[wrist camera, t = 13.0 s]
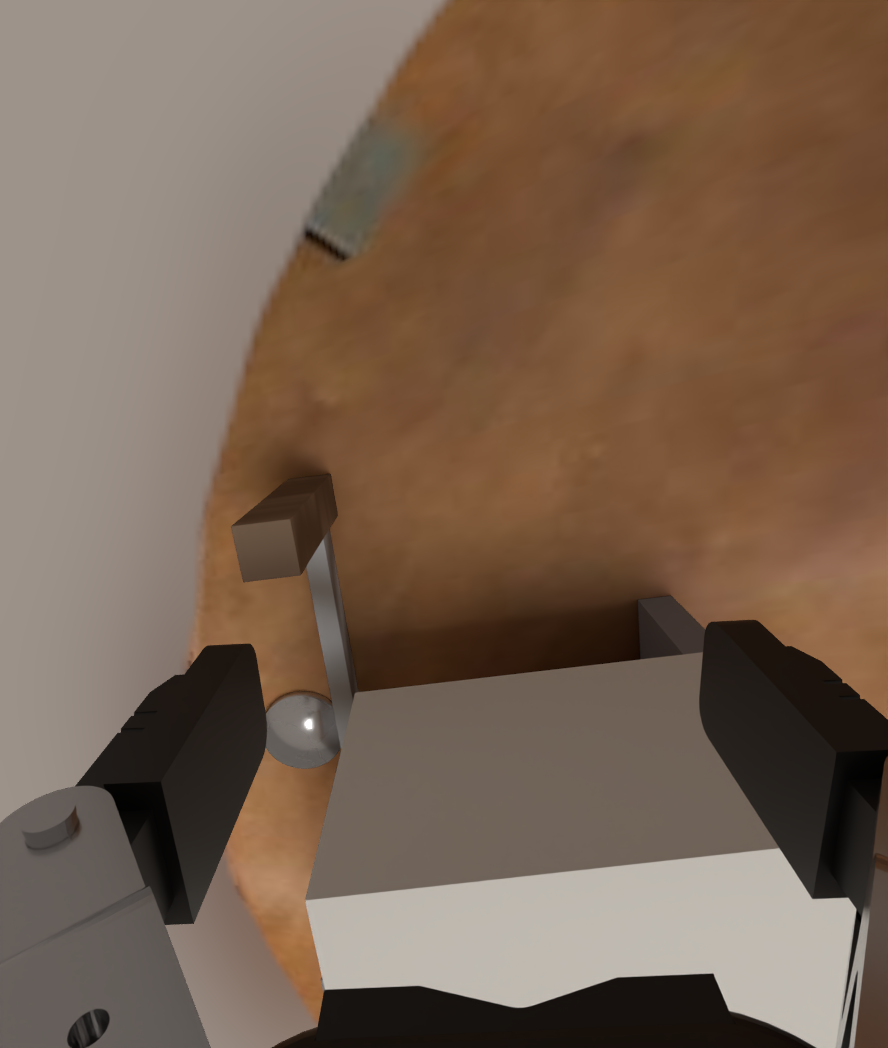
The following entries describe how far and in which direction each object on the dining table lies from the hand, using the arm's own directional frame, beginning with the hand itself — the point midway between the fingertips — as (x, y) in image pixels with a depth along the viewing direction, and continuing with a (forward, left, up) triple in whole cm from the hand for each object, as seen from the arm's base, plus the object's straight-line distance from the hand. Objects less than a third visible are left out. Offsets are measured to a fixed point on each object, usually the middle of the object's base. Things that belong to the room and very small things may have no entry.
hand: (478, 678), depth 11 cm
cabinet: (+20, +3, -24) cm, 31 cm away
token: (+15, -11, -25) cm, 31 cm away
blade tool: (+11, -8, -24) cm, 28 cm away
